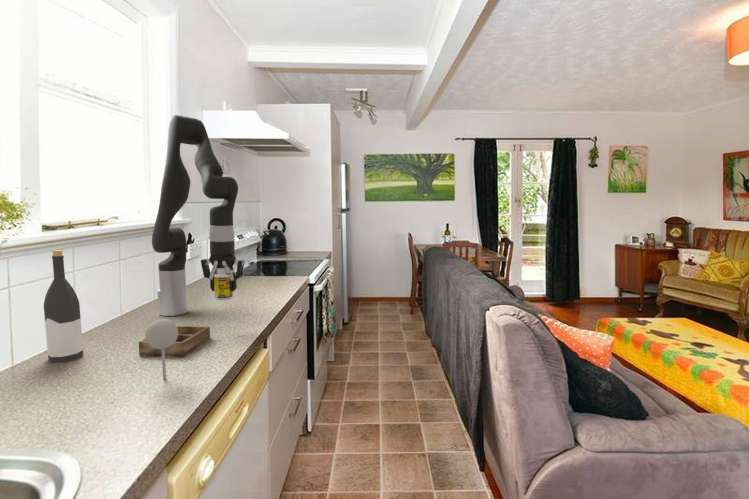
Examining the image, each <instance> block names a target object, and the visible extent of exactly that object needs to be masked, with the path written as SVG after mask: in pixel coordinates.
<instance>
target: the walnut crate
mask: <svg viewBox="0 0 749 499" xmlns="http://www.w3.org/2000/svg"><path fill="white" fill-rule="evenodd" d="M176 326H177V328H178V338H177V340H176V341H175V343H174V344H173V345H171V346H170V347H168V348H165V357H167V356H170V358H171V357H173V358H178V357H179V358H185V357H186V356H187V355H189V354H190V353H192V352H194V351H195V350H197V348H199V347H201V346H202V345H204V344H206V343H207V342H208V341H210V340H211V327H210V326H207V325H206V326H202V325H201V326H200V325H199V326H197V325H176ZM138 353H139V354H138V355H140V356H141V355H145V356H144V357H162V351H161V349H156V348H153V347H152V346H150V345H149V344H148V343H147V341H146V337H145V338H143V339H141V340H139V341H138ZM141 357H142V356H141Z"/></svg>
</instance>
